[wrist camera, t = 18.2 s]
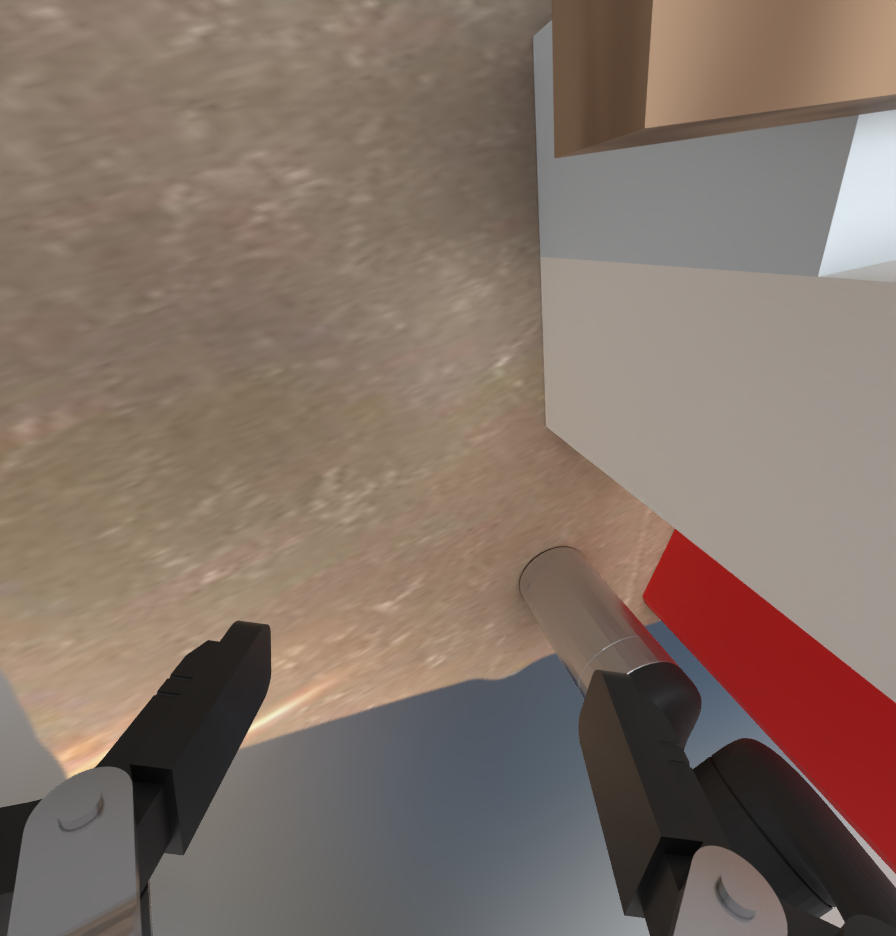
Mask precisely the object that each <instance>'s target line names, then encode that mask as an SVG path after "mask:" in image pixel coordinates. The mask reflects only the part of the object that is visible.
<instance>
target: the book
mask: <svg viewBox="0 0 896 936" xmlns="http://www.w3.org/2000/svg"><path fill="white" fill-rule="evenodd" d="M643 598H644V601H645V603H646V604H647V605H648V606H649V607H650V609H651V610H652V611H653V612H654V613H655V614H656V615H657V616H658V617H659V618H660V619H661V620H662V622H663V623H664V624H665V625H666V626H667V627H668V628H669V629H670V630H671V631H672V632H673V633H674V634H675V636H676V637H677V638H678V639H679V640H680V641H681V642H682V643H683V644H684V645H685V646H686V647H687V649H688V650H689V651H690V652H691V653H692V654H693V655H694V656H695V657H696V658H697V659H698V660H699V661H700V663H701V664H702V665H703V666H704V667H705V668H706V669H707V670H708V671H709V672H710V673H711V675H712V676H713V677H714V678H715V679H716V680H717V681H718V682H719V683H720V684H721V685H722V686H723V688H724V689H725V690H726V691H727V692H728V693H729V694H730V695H731V696H732V697H733V698H734V699H735V700H736V702H737V703H738V704H739V705H740V706H741V707H742V708H743V709H744V710H745V711H746V712H747V713H748V715H749V716H750V717H751V718H752V719H753V720H754V721H755V722H756V723H757V724H758V725H759V726H760V728H761V729H762V730H763V731H764V732H765V733H766V734H767V735H768V736H769V737H770V738H771V739H772V741H773V742H774V743H775V744H776V745H777V746H778V747H779V748H780V749H781V750H782V751H783V752H784V754H785V755H786V756H787V757H788V758H789V759H790V760H791V761H792V762H793V763H794V764H795V765H796V767H797V768H798V769H799V770H800V771H801V772H802V773H803V774H804V775H805V776H806V777H807V778H808V779H809V781H810V782H811V783H812V784H813V785H814V786H815V787H816V788H817V789H818V790H819V791H820V792H821V794H822V795H823V796H824V797H825V798H826V799H827V800H828V801H829V802H830V803H831V804H832V805H833V807H834V808H835V809H836V810H837V811H838V812H839V813H840V814H841V815H842V816H843V817H844V818H845V820H846V821H847V822H848V823H849V824H850V825H851V826H852V827H853V828H854V829H855V830H856V831H857V833H858V834H859V835H860V836H861V837H862V838H863V839H864V840H865V841H866V842H867V843H868V844H869V846H870V847H871V848H872V849H873V850H874V851H875V852H876V853H877V854H878V855H879V856H880V857H881V858H882V860H883V861H884V862H885V863H886V864H887V865H888V866H889V867H890V868H891V869H892V870H893V871H894V872H895V873H896V703H895V702H894V701H893V700H891V699H890V698H889V697H888V696H886V695H885V694H884V693H883V692H881V691H880V690H879V689H877V688H876V687H875V686H874V685H872V684H871V683H870V682H869V681H867V680H866V679H865V678H864V677H862V676H861V675H860V674H858V673H857V672H856V671H855V670H853V669H852V668H851V667H850V666H848V665H847V664H846V663H845V662H843V661H842V660H841V659H839V658H838V657H837V656H836V655H834V654H833V653H832V652H831V651H829V650H828V649H827V648H826V647H824V646H823V645H822V644H821V643H819V642H818V641H817V640H815V639H814V638H813V637H812V636H810V635H809V634H808V633H807V632H805V631H804V630H803V629H802V628H800V627H799V626H798V625H796V624H795V623H794V622H793V621H791V620H790V619H789V618H788V617H786V616H785V615H784V614H783V613H781V612H780V611H779V610H778V609H776V608H775V607H774V606H772V605H771V604H770V603H769V602H767V601H766V600H765V599H764V598H762V597H761V596H760V595H759V594H757V593H756V592H755V591H753V590H752V589H751V588H750V587H748V586H747V585H746V584H745V583H743V582H742V581H741V580H740V579H738V578H737V577H736V576H734V575H733V574H732V573H731V572H729V571H728V570H727V569H726V568H724V567H723V566H722V565H721V564H719V563H718V562H717V561H716V560H714V559H713V558H712V557H710V556H709V555H708V554H707V553H705V552H704V551H703V550H702V549H700V548H699V547H698V546H697V545H695V544H694V543H693V542H691V541H690V540H689V539H688V538H686V537H685V536H684V535H683V534H681V533H680V532H679V531H678V530H676V529H675V530H674V532H673V534H672V536H671V539H670V541H669V543H668V545H667V547H666V549H665V551H664V553H663V555H662V557H661V559H660V561H659V563H658V565H657V567H656V569H655V571H654V573H653V575H652V578H651V580H650V582H649V584H648V586H647V588H646V590H645V592H644V594H643Z"/></svg>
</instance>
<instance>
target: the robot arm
mask: <svg viewBox="0 0 896 936" xmlns="http://www.w3.org/2000/svg"><path fill="white" fill-rule="evenodd" d="M520 592H521V595H522V596H523V598H524V600H525V601H526V603H527V605H528V606H529V608H530V610H531V611H532V613H533V615H534V617H535V618H536V620H537V622H538V623H539V625H540V627H541V628H542V630H543V632H544V634H545V635H546V637H547V639H548V640H549V642H550V644H551V645H552V647H553V649H554V650H555V652H556V654H557V655H558V657H559V659H560V660H561V662H562V664H563V665H564V667H565V669H566V670H567V672H568V674H569V676H570V677H571V679H572V681H573V682H574V684H575V685H576V687H577V689H578V691H579V692H580V694H581V695H582V697H583V698H584V703H583V706H582V709H581V713H580V717H579V739H580V745H581V748H582V752H583V756H584V760H585V764H586V768H587V771H588V776H589V780H590V783H591V787H592V791H593V795H594V799H595V803H596V807H597V811H598V814H599V819H600V822H601V826H602V830H603V834H604V838H605V842H606V846H607V850H608V854H609V857H610V861H611V865H612V869H613V873H614V877H615V881H616V885H617V888H618V893H619V896H620V900H621V904H622V908H623V912H624V915H626V916H633V917H641V918H645V920H646V923H647V926H648V930H649V934H650V936H896V888H895V886H894V885H893V884H892V883H891V881H890V880H889V879H888V878H887V877H886V875H885V874H884V873H883V872H882V871H881V870H880V868H879V867H878V866H877V865H876V863H875V862H874V861H873V860H872V858H871V857H870V856H869V855H868V854H867V853H866V852H865V850H864V849H863V848H862V846H861V845H860V844H859V843H858V841H857V840H856V839H855V838H854V837H853V835H852V834H851V833H850V832H849V831H848V830H847V828H846V827H845V826H844V825H843V823H842V822H841V821H840V820H839V819H838V817H837V816H836V815H835V814H834V813H833V811H832V810H831V809H830V808H829V807H828V806H827V804H826V803H825V802H824V801H823V800H822V799H821V797H820V796H819V795H818V794H817V793H816V792H815V791H814V790H813V788H812V787H811V786H810V785H809V784H808V783H807V782H806V781H805V780H804V779H803V778H802V777H801V776H800V774H799V773H798V772H797V771H796V770H795V769H793V768H792V767H791V766H790V765H789V764H788V763H787V762H786V761H785V760H784V759H783V758H782V757H781V756H779V755H778V754H777V753H776V752H774V751H773V750H772V749H770V748H769V747H767V746H766V745H764V744H762V743H760V742H759V741H756V740H753V739H748V738H742V739H738V740H736V741H734V742H732V743H730V744H728V745H726V746H725V747H723V748H721V749H720V750H719V751H717V752H716V753H714V754H713V755H712V757H709V758H707V759H706V760H705V761H704V762H702V763H701V764H699V765H698V766H697V767H695V768H694V769H692V768H690V766H689V761H688V759H687V757H686V754H685V752H684V748H685V745H686V742H687V740H688V738H689V736H690V733H691V731H692V730H693V728H694V725H695V724H696V721H697V719H698V717H699V714H700V710H701V696H700V694H699V692H698V690H697V688H696V686H695V685H694V684H693V682H692V681H691V680H690V679H689V678H688V676H687V675H686V674H685V673H684V672H683V671H682V670H681V668H679V666H678V665H677V664H676V663H675V661H674V660H673V659H672V658H671V657H670V656H669V655H668V653H667V652H666V651H665V650H664V649H663V648H662V646H661V645H660V644H659V643H658V642H657V641H656V640H655V639H654V638H653V636H652V635H651V634H650V633H649V632H648V630H647V629H646V628H645V627H644V626H643V625H642V623H641V622H640V621H639V620H638V619H637V618H636V617H635V615H634V614H633V613H632V612H631V611H630V610H629V608H628V607H627V606H626V605H625V604H624V603H623V601H622V600H621V599H620V598H619V597H618V596H617V595H616V593H615V592H614V591H613V590H612V589H611V588H610V586H609V585H608V584H607V583H606V582H605V581H604V580H603V578H602V577H601V576H600V575H599V573H598V572H597V571H596V570H595V569H594V568H593V567H592V565H591V564H590V563H589V562H588V561H587V560H586V559H585V557H584V556H583V555H582V554H581V553H580V552H579V551H577V550H575V549H573V548H569V547H560V548H554V549H551V550H548V551H546V552H544V553H542V554H540V555H539V556H538V557H536V558H535V559H534V560H533V561H532V562H531V563H530V564H529V565H528V566H527V567H526V569H525V570H524V572H523V574H522V576H521V580H520ZM270 678H271V632H270V626H269V625H267V624H259V623H252V622H244V621H236V622H235V623H233V625H232V626H231V627H230V628H229V630H228V631H227V632H226V634H225V635H224V637H223V638H222V639H221V641H220V642H217V641H210V640H208V641H206V642H205V643H203V644H202V645H200V646H199V647H198V648H196V649H195V650H193V651H192V652H190V653H189V654H188V655H186V656H185V658H184V659H183V660H182V661H181V662H180V664H179V665H178V666H177V667H176V669H175V670H174V671H173V672H172V674H171V676H170V678H169V679H167V680H166V681H165V682H164V684H163V685H162V686H161V687H160V689H159V690H158V692H157V694H156V695H154V696H153V697H152V699H151V700H150V701H149V702H148V703H147V705H146V706H145V707H144V708H143V710H142V711H141V712H140V713H139V715H138V716H137V717H136V718H135V720H134V721H133V722H132V723H131V725H130V726H129V727H128V728H127V730H126V731H125V732H124V733H123V735H122V736H121V737H120V738H119V740H118V741H117V742H116V743H115V744H114V746H113V747H112V748H111V749H110V751H109V752H108V753H107V754H106V756H105V757H104V758H103V759H102V760H101V762H100V763H99V764H98V765H97V766H96V767H95V768H93V769H90V770H86V771H83V772H81V773H79V774H77V775H74V776H72V777H71V778H69V779H67V780H65V781H64V782H62V783H61V784H60V785H58V786H57V787H55V788H54V789H53V790H52V791H50V792H49V793H48V794H47V795H46V796H45V797H44V798H43V799H40V800H37V801H32V802H28V803H23V804H17V805H12V806H7V807H2V808H0V936H153V923H152V906H151V890H150V877H151V875H152V874H153V872H154V870H155V868H156V866H157V865H158V863H159V861H160V859H161V857H162V856H163V854H164V853H169V854H177V855H184V854H185V852H186V850H187V848H188V846H189V844H190V842H191V840H192V838H193V836H194V834H195V832H196V830H197V828H198V827H199V825H200V823H201V820H202V819H203V817H204V815H205V813H206V811H207V809H208V807H209V805H210V803H211V801H212V799H213V798H214V796H215V793H216V792H217V790H218V788H219V786H220V784H221V782H222V780H223V778H224V776H225V774H226V772H227V770H228V768H229V766H230V765H231V763H232V760H233V759H234V757H235V755H236V753H237V751H238V749H239V747H240V745H241V743H242V741H243V739H244V738H245V736H246V734H247V732H248V730H249V728H250V726H251V724H252V722H253V720H254V718H255V716H256V714H257V712H258V710H259V709H260V707H261V705H262V703H263V701H264V699H265V696H266V694H267V691H268V687H269V683H270ZM832 907H837V909H838V910H839V912H840V914H841V916H842V918H843V920H844V922H845V924H844V925H843V926H842V927H841V928H839V927H837V926H834V925H833V924H830V923H828V922H826V921H824V920H822V919H820V917H821V916H823V915H824V914H826V913H827V912H829V911H830V910H831V909H832Z"/></svg>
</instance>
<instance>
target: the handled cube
mask: <svg viewBox="0 0 896 936" xmlns="http://www.w3.org/2000/svg"><path fill="white" fill-rule="evenodd" d="M552 45H553V106H554V158H561V157H568V156H575V155H582V154H589V153H596V152H603V151H610V150H617V149H624V148H631V147H638V146H645V145H652V144H659V143H666V142H673V141H680V140H687V139H694V138H701V137H708V136H715V135H722V134H729V133H736V132H743V131H750V130H757V129H764V128H771V127H778V126H785V125H791V124H798V123H805V122H812V121H819V120H826V119H833V118H840V117H847V116H854V115H861V114H868V113H875V112H882V111H889V110H896V0H552Z"/></svg>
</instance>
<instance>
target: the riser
mask: <svg viewBox="0 0 896 936" xmlns="http://www.w3.org/2000/svg"><path fill="white" fill-rule="evenodd" d="M533 57H534V87H535V117H536V147H537V177H538V206H539V236H540V266H541V296H542V326H543V356H544V386H545V416H546V427H547V428H549V429H550V430H551V431H552V432H554V433H555V434H556V435H557V436H559V437H560V438H561V439H562V440H564V441H565V442H566V443H567V444H569V445H570V446H571V447H573V448H574V449H575V450H576V451H578V452H579V453H580V454H581V455H583V456H584V457H585V458H586V459H588V460H589V461H590V462H592V463H593V464H594V465H595V466H597V467H598V468H599V469H600V470H602V471H603V472H604V473H605V474H607V475H608V476H609V477H611V478H612V479H613V480H614V481H616V482H617V483H618V484H619V485H621V486H622V487H623V488H624V489H626V490H627V491H628V492H629V493H631V494H632V495H633V496H635V497H636V498H637V499H638V500H640V501H641V502H642V503H643V504H645V505H646V506H647V507H648V508H650V509H651V510H652V511H654V512H655V513H656V514H657V515H659V516H660V517H661V518H662V519H664V520H665V521H666V522H667V523H669V524H670V525H671V526H672V527H674V528H675V529H676V530H678V531H679V532H680V533H681V534H683V535H684V536H685V537H686V538H688V539H689V540H690V541H691V542H693V543H694V544H695V545H697V546H698V547H699V548H700V549H702V550H703V551H704V552H705V553H707V554H708V555H709V556H710V557H712V558H713V559H714V560H716V561H717V562H718V563H719V564H721V565H722V566H723V567H724V568H726V569H727V570H728V571H729V572H731V573H732V574H733V575H734V576H736V577H737V578H738V579H740V580H741V581H742V582H743V583H745V584H746V585H747V586H748V587H750V588H751V589H752V590H753V591H755V592H756V593H757V594H759V595H760V596H761V597H762V598H764V599H765V600H766V601H767V602H769V603H770V604H771V605H772V606H774V607H775V608H776V609H778V610H779V611H780V612H781V613H783V614H784V615H785V616H786V617H788V618H789V619H790V620H791V621H793V622H794V623H795V624H796V625H798V626H799V627H800V628H802V629H803V630H804V631H805V632H807V633H808V634H809V635H810V636H812V637H813V638H814V639H815V640H817V641H818V642H819V643H821V644H822V645H823V646H824V647H826V648H827V649H828V650H829V651H831V652H832V653H833V654H834V655H836V656H837V657H838V658H839V659H841V660H842V661H843V662H845V663H846V664H847V665H848V666H850V667H851V668H852V669H853V670H855V671H856V672H857V673H858V674H860V675H861V676H862V677H864V678H865V679H866V680H867V681H869V682H870V683H871V684H872V685H874V686H875V687H876V688H877V689H879V690H880V691H881V692H883V693H884V694H885V695H886V696H888V697H889V698H890V699H891V700H893V701H894V702H895V703H896V110H889V111H882V112H875V113H868V114H861V115H854V116H847V117H840V118H833V119H826V120H819V121H812V122H805V123H798V124H791V125H785V126H778V127H771V128H764V129H757V130H750V131H743V132H736V133H729V134H722V135H715V136H708V137H701V138H694V139H687V140H680V141H673V142H666V143H659V144H652V145H645V146H638V147H631V148H624V149H617V150H610V151H603V152H596V153H589V154H582V155H575V156H568V157H561V158H554V106H553V45H552V20H551V21H550V22H549V23H548V24H547V25H545V26H544V27H543V28H542V29H541V30H540V31H539V32H538V33H537V34H536V35H534V36H533Z"/></svg>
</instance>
